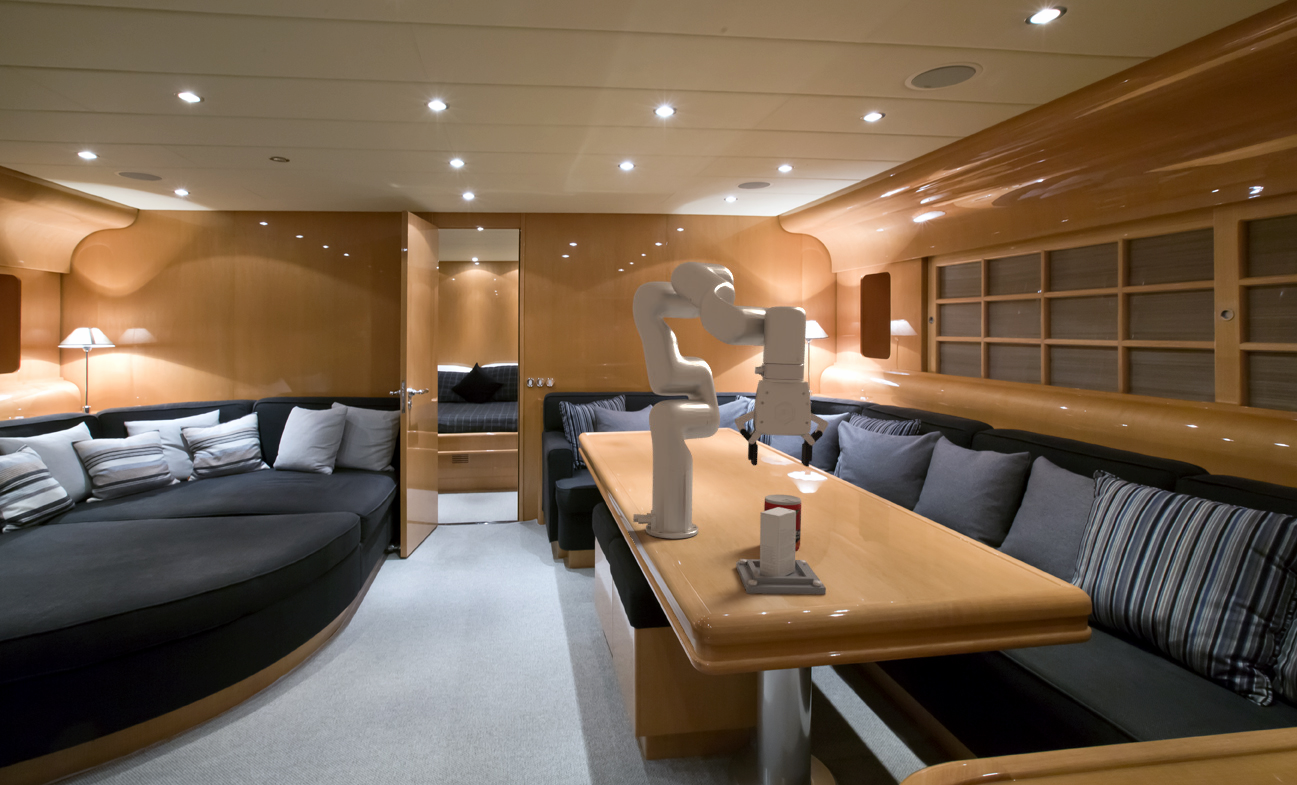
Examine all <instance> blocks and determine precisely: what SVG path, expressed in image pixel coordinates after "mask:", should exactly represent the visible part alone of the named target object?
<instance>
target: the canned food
mask: <svg viewBox="0 0 1297 785" xmlns="http://www.w3.org/2000/svg"><path fill="white" fill-rule="evenodd" d="M777 507H780V508H785V509H790V510H794V511H796V541H795V552H796V551H798V550H799V549H800V547H801V531H802V530H801V529H802V527H801V526H802V498H800V497H799V496H794V495H788V494H768V495H766V496H765V497H764V506H763V508H764V509H763V510H764V511H767V510H770V509H774V508H777ZM764 511H763V512H764Z"/></svg>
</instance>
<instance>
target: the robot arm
mask: <svg viewBox="0 0 1297 785" xmlns="http://www.w3.org/2000/svg"><path fill="white" fill-rule="evenodd" d="M734 283H735V281H734V276H733V274H732V272H731V271H730V270H729V268H727V267H726V266H724V265H722V264H718V263H711V262H710V263H709V262H708V263H707V262H700V261H699V262H698V261H686V262H683V263H680V264H679V265H677V266H676V267H675V268H674V269H673V270H672V273H671V276H670V281H662V280H661V281H659V280H658V281H657V280H656V281H649V282H645V283H642V284H641V285H639V287H638V288H636V291H635V293H634V295H633V299H632V315H633V317H632V318H633V320H634V324H635V327H636V330H637V332H638V335H639V337H640V340H641V342H642V348H643V349H642V350H643V355H644V360H645V361H644V362H645V368H646V372H647V378H648V383H649V387H650V389H651V391H652V392H653V393H654V394H655V395H658V396H667V397H668V396H671V397H672V396H687V397H688V399H685V398H683V399H682V398H680V399H667V400H661V401H659V402H657V403H655V404H654V405H653V406H652V407H651V409H650V411H649V415H648V424H649V425H648V426H649V431H650V436H651V437H650V438H651V445H652V499H651V500H652V505H651V506H652V508H651V510H650V512H646V514H640V513H634V514H633V515H632V516H633V521H632V522H633V523H638V524H639V525H643V524H646V525H645V532H646V534H648V535H649V536H653V537H656V538H662V539H686V538H691V537H694V536H696V535H698V534H699V526H697V525H696V524H694V523H693V481H694V480H693V475H694V474H693V471H694V469H693V468H694V467H693V466H694V465H693V463H694V461H693V455H692V452H691V450H690V449H689V447H688V445H687V444H686V440H695V439H707V438H710V437H713V436H714V435H716V434H717V432H718V430H719V428H720V423H721V414H720V408H719V404H718V398H717V397H718V396H717V392H716V387H715V382H714V377H713V372H712V370H711V367H710V366H709V364H708V363H707V361H705V359H703V358H701V357H697V356H683V355H682V354H681V353H680V349H679V343H678V338H677V336H676V334H675V333H674V331H673V329H672V328H671V327H670V325H668V323H667V322H666V321H665V320H664V318H671V319H672V318H673V319H674V318H675V319H697V318H700V322H701V325H702V327H703V328H704V330H705V331H706V332H707V333H708V334H710V335H711V336H713V337H714V338H715V339H717V340H718V341H720V342H722V343H724V344H726V345H731V346H755V347H759V346H760V347H763V351H762V352H763V354H762V364H761V365H760V366H755V367H754V374H755V375H760V376H761V379H760V380H758V383H757V388H756V392H755V399H754V407H753V410H751V411H748V412H747V413H745V414H743V415H741V416H739V417H736V418H735V419H734V424H735V425H736V428H737V430H738V432H739V434H740V435H741V436H742V437H743V438H744V439H745V440H746V441H747V443H748V446H747V448H748V449H747V459H748V461H750V464H751V465H752V466H757V465H758V452H759V450H758V449H759V445H758V443H757V441H758V440H759V439H760V438H761V437H762V436H763V435H764V436H788V437H790V436H791V437H793V436H794V437H801V438H802V439H803V442H802V444H801V460H800V461H801V464H802V466H805V467H807V468H809V466H810V462H812V461H813V446H814V445H815V444H816V442H817V441H818V440H820V439H821V437H823V435H824V433H825V431H826V430H827V429H828V426H829V422H828V421H827V420H825V419H823V418H822V417H819V416H818V415H816V414H814V413H812V411H811V410H812V408H811V406H812V405H811V404H812V403H811V392H810V386H809V382H808V381H805V380H804V379H805V378H804V377H805V355H806V353H805V352H806V350H805V349H806V331H807V330H806V329H807V328H806V327H807V314H806V313H807V312H806V311H805V309H804V308H802V307H800V306H799V307H798V306H789V305H788V306H785V305H784V306H782V305H781V306H780V305H779V306H770V307H764V306H751V305H735V300H736V290H735V288H734V285H735V284H734ZM751 420H752V426H753V430H752V431H751V432H750V433H749V431H748V430H747V429H746V427H745V423H747V422H750V421H751ZM812 422H814V423H816V424H817V426H816V429H815V430H814V431H813V432H812V433H811V429H812Z"/></svg>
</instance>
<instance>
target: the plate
mask: <svg viewBox="0 0 1297 785" xmlns="http://www.w3.org/2000/svg"><path fill="white" fill-rule="evenodd" d="M807 562H808V561H806V560H804V559H795V572H793V573H791V574H789V575H787V576H764V575H761V574H760V559H746V558H745V559H744V558H740V559H738V561H736V563H735V564H736V565H735V566H736V570H737V573H738V574H739V578H740V580H741V582H742V585H743V587H744V589H746V590H745V592H746V594H756V593H762V594H763V595H764V594H767V595H768V594H770V595H771V594H775V595H776V594H777V595H778V594H780V595H826V593H827V591H826V590H827V589H826V586H825V585H824V583H823V582H822V581H821V580H820V578H819V577H818V575H817V574H816V573H815V571H814V570H813V569H812V568H811V566H810V564H808V563H807Z"/></svg>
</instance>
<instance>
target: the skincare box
mask: <svg viewBox="0 0 1297 785" xmlns="http://www.w3.org/2000/svg"><path fill="white" fill-rule="evenodd" d="M759 518H760V520H759V522H760V523H759V524H760V528H759V529H760V531H759V532H760V534H759V540H760V542H759V560H760V574H761V575H764V576H787V575H789V574H791V573H793V572H795V560H796V551H795V541H796V511H794V510H790V509H785V508H780V507H777V508H774V509H770V510H767V511H761V512H760V517H759Z"/></svg>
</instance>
